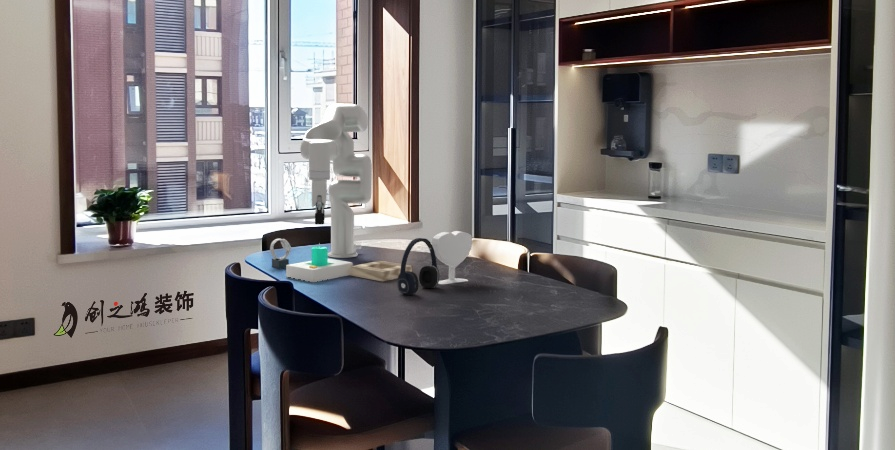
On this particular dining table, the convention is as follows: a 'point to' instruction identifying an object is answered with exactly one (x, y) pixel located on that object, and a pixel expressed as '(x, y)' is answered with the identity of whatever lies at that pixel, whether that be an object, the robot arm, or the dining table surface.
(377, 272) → the beige compartment tray
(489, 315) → the dining table surface
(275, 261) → the watch
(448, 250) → the heart sculpture
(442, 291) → the dining table surface
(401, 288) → the headphones
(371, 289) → the dining table surface
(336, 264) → the port block
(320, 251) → the candle
